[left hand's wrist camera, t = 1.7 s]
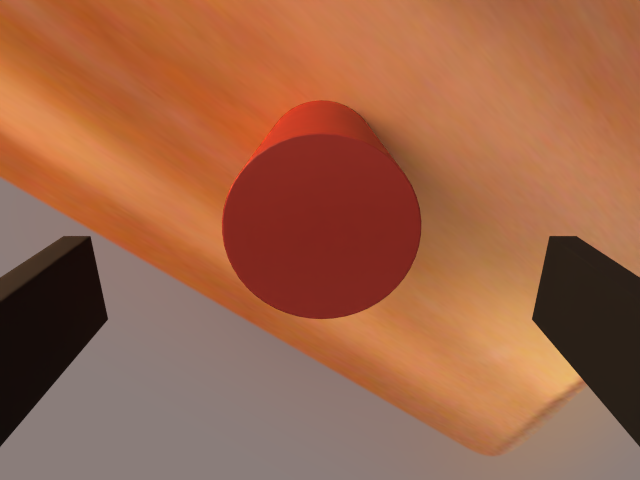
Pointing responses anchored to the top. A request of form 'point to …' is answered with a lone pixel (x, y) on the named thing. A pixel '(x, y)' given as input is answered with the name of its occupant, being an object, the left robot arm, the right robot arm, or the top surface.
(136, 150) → the top surface
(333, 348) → the top surface
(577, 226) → the top surface
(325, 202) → the canister
